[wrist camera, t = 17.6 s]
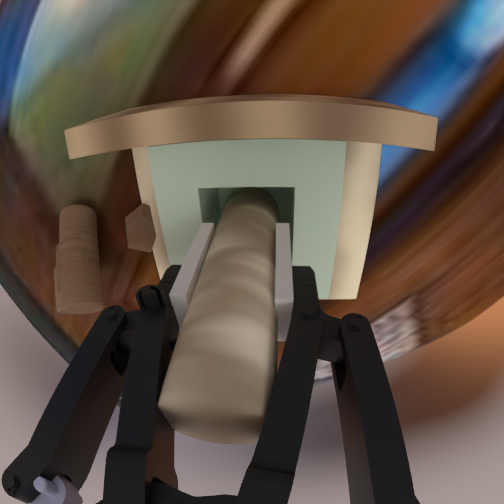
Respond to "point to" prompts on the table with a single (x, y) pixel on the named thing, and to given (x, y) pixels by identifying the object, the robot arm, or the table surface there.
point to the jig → (270, 126)
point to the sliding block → (254, 175)
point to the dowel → (229, 330)
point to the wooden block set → (90, 256)
